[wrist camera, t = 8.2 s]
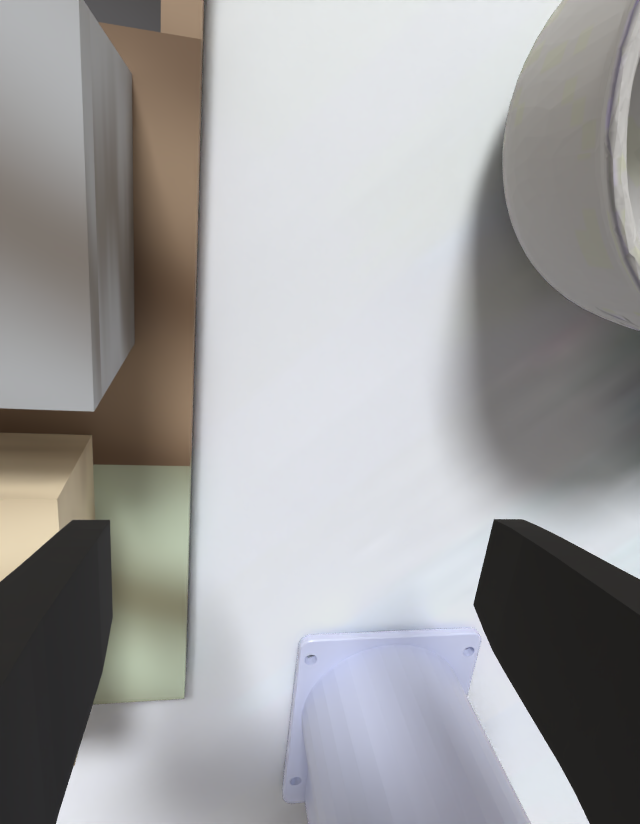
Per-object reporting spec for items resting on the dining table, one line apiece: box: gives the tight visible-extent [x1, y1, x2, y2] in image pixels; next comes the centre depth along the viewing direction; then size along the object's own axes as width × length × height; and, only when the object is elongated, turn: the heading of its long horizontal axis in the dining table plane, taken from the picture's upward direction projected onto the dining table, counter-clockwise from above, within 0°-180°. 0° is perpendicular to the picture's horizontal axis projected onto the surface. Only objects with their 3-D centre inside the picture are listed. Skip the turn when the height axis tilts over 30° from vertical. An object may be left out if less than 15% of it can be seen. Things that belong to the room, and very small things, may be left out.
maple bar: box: [0, 433, 95, 765], centre depth 16 cm, size 9×4×4 cm, turn 174°
